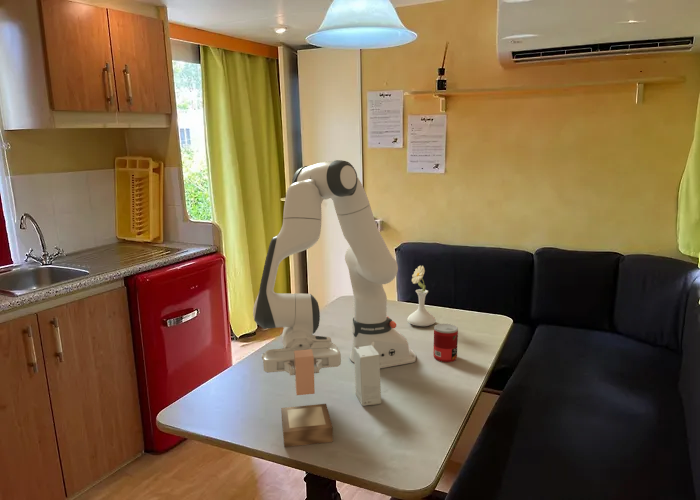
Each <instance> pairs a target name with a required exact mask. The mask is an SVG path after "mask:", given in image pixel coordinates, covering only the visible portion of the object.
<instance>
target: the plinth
mask: <svg viewBox="0 0 700 500" xmlns="http://www.w3.org/2000/svg"><path fill="white" fill-rule="evenodd" d="M280 409H281V410H280V411H281V425H282V437H283V447H284V448H288V447H289V448H290V447H295V446H296V447H298V446H305V445H315V444H325V443H332V442H333V441H334V435H333V434H334V433H333V431H334V430H333V424H332V421H331V417H330V414H329V410H328V405H327V403H321V404H320V403H319V404H317V403H316V404H310V405H309V404H308V405H307V404H306V405H299V406H289V407H280Z"/></svg>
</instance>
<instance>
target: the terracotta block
mask: <svg viewBox="0 0 700 500" xmlns="http://www.w3.org/2000/svg"><path fill="white" fill-rule="evenodd" d="M294 364H295V373H296V375H294V382H295V383H294V385H295V387H294V388H295V394H296V395H295V396H304V395H314V394H315V393H316V392H315V389H316V387H315V373H314V356H313V352H312V349H308V350H296V351H294Z"/></svg>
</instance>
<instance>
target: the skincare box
mask: <svg viewBox="0 0 700 500" xmlns="http://www.w3.org/2000/svg"><path fill="white" fill-rule="evenodd" d="M353 363H354V382H355V383H354V385H355V386H354V387H355V395H356V397H357V399H358V401H359V403H360V404H361V406H362V407H364V406H375V405H381V404H382V394H381V393H382V391H381V368H380V361H379V354H378V352H377V351H376V350H375V348H374V347H373V346H372V345H370V346H362V347H355V348H354V362H353Z"/></svg>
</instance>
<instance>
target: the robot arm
mask: <svg viewBox="0 0 700 500" xmlns="http://www.w3.org/2000/svg"><path fill="white" fill-rule="evenodd" d="M329 199H331V200H332V203H333V206H334V207H333V208H334V211H335V214H336V216H337V220H338V222H339V225H340V228H341V232H342V235H343V237H344V239H345V240H346V241H347V243H348V245H349V247H348V248H347V249H346V251H345V255H344V260H345V264H346V266H347V268H348V272H349V273H348V274H349V278H350V285H351V288H352V294H353V295H352V296H353V318H352V325H351V326H352V328H351V329H352V335H353V339H352V345H351V350H350V354H349V359H350V361H351V362H353V363H354V348H355V347H362V346H370V345H372V346H373V347H374V348H375V350H376V351H377V352H378V354H379V361H380V369H384V368H389V367H395V366H401V365H402V366H403V365H407V364H412V363H415V362H416V359H417V356H416V353H415V351H414V350H413V349H412V348H410V347H409V342H408V340H407V338H406V337H405V336H404V335H403V334H402V333H400V332H399V331H398V330H397V329H396V327H397V323H396V322H395V321H394V320H392V319H391V318H390V317H389V316H388V314H387V312H388V302H387V301H388V297H387V293H386V291H385V289H384V285H386V284H387V285H388V284H390V283H391V282H392V281H394V279H395V278H396V277H397V274H398V269H399V265H398V262H397V260H396V258H394V257H393V255H392V254H391V252H390V250H389V248H388V246H387V244H386V242H385V240H384V238H383V236H382V234H381V232H380V230H379V228H378V226H377V222H376V221H375V220H376V219H375V217H374V214H373V210H372V208H371V204H370V201H369V197H368V196H367V193H366V191H365V188H364V186H363V184H362V182H361V181H360V179H359V177H358V174H357V170H356V169H355V166H353V165H352V164H351V163H350V162H349V161H348V160H341V159H340V160H339V159H335V160H331V161H330V160H329V161H321V162H320V161H319V162H318V163H314V164H310V165H304V166H303V167H301V168H298V169H297V170H296V171H295V173H294V174H293V177H292V182H291V184H290V185H289V186H288V187H287V190H286V193H285V200H284V205H283V214H282V215H283V216H282V218H283V219H282V226H281V228H280V231H279V233H278V234H277V235H274V236H273V237H272V238H271V240H270V243H269V245H268V249H267V254H266V256H265V259H264V260H265V261H264V266H263V270H262V276H261V278H260V279H261V280H260V284H259V291H258V294H257V297H256V299H255V301H254V304H253V310H252V315H253V321H254V322H255V323H256V324H257V325H258V326H259V327H261V328H262V329H263V330H264V329H265V330H266V329H276V328H283V330H282V334H281V335H282V338H281V340H282V346H283V348H282V347H281V348H272V349H271V348H270V349H268V350H266V351H265V352H263V353H262V354H261V359H262V360H263V362H262V364H263V365H262V366H263V372H265V373H269V374H271V373H279V372H286V373H288V374H289V376H295V375H296V373H295V364H294V351H296V350H308V349H312V352H313V356H314V374H319V373H320V370H322V369H326V368H337V367H340V366H341V365H342V363H341V362H342V356H341V351H340V349H339V347H338V346H337V344H336V343H334V342H332V337H330V336H323V335H321V336H320V335H315V333H316V332H317V330H318V329H319V326H320V321H321V319H320V318H321V313H320V306H319V302H318V300H317V299H316V297H315V296H314V295H312V294H311V293H300V292H299V293H296V292H295V293H284V292H283V293H279V292H278V293H277V292H275V290H274V288H275V284H276V279H277V275H278V274H277V273H278V269H279V265H280V264H281V262H282V261H283V260H284V259H286V258H288V257H289V256H292V255H295V254H298V253H301V252H303V251H306V250H308V249H310V248H312V247H313V246H314V245H315V244H317V242H318V241H319V239H320V236H321V231H322V204H323V201H324V200H329Z"/></svg>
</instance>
